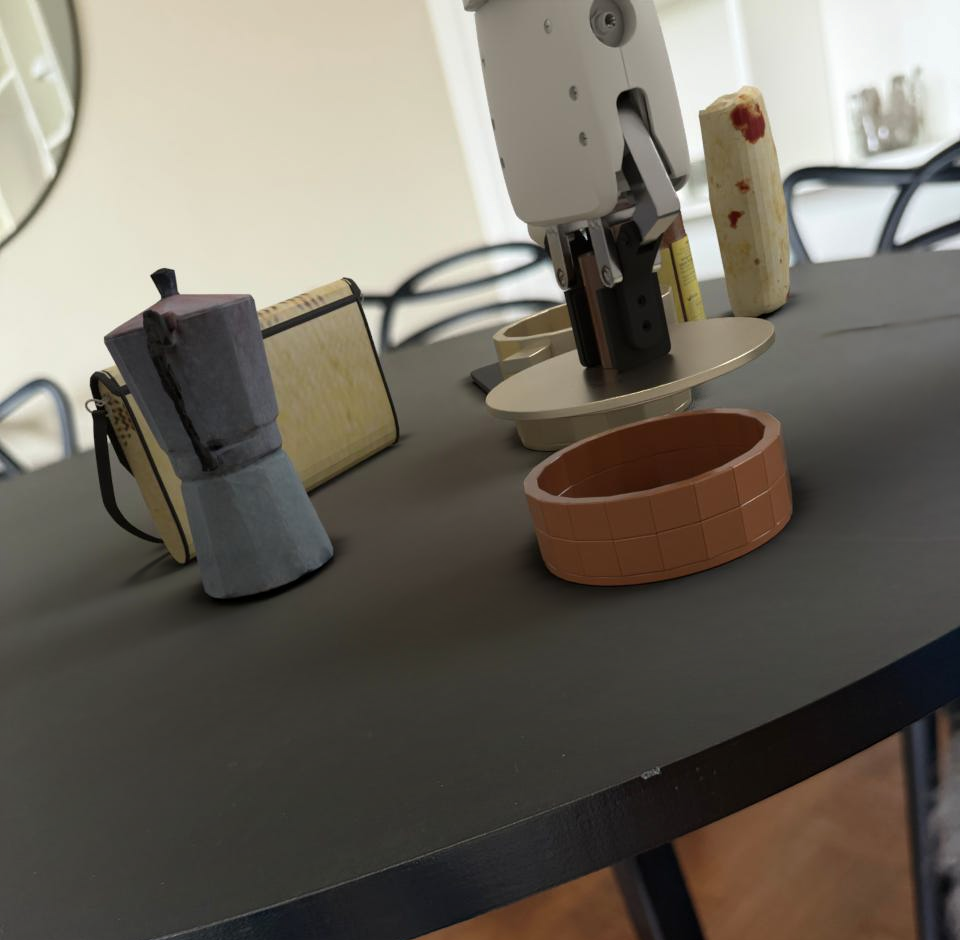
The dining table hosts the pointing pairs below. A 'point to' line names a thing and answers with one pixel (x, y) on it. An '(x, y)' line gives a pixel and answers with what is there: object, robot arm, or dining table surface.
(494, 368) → the phone
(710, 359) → the lid
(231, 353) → the moka pot
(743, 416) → the pan
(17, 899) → the dining table surface
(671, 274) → the sauce bottle
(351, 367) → the clutch purse
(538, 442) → the pot
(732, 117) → the food model
